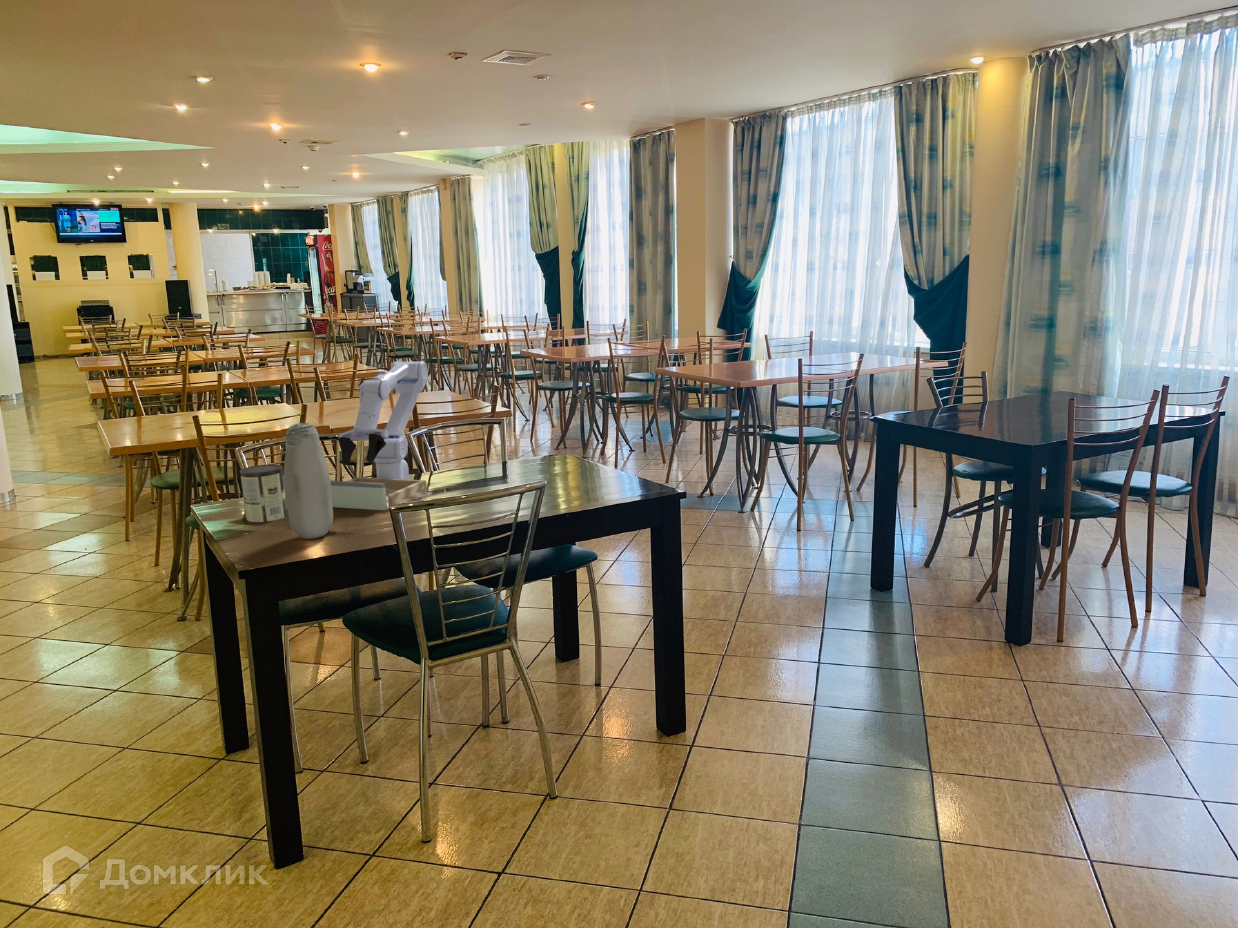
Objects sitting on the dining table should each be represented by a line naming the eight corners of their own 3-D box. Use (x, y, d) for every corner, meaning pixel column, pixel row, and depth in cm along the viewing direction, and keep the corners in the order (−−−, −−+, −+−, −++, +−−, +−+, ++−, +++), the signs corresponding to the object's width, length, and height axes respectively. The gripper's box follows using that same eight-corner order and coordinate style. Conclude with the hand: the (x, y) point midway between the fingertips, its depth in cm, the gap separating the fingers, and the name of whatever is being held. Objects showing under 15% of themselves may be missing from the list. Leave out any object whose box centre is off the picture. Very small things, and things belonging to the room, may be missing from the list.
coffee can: (263, 515, 238) (256, 463, 235) (296, 516, 235) (290, 464, 232) (237, 525, 228) (230, 472, 225) (271, 527, 225) (265, 473, 222)
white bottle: (297, 532, 220) (284, 420, 214) (339, 530, 220) (328, 419, 214) (285, 544, 210) (272, 427, 204) (329, 542, 211) (317, 425, 205)
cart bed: (359, 493, 258) (357, 477, 257) (427, 497, 250) (425, 480, 249) (322, 509, 242) (320, 491, 241) (393, 513, 235) (391, 495, 234)
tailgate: (326, 505, 241) (323, 480, 239) (387, 509, 235) (384, 483, 233) (323, 506, 240) (320, 481, 238) (384, 510, 234) (382, 484, 232)
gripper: (337, 414, 244) (325, 458, 238) (382, 409, 240) (372, 454, 234) (351, 426, 250) (340, 469, 244) (396, 422, 246) (386, 466, 240)
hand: (357, 463), depth 239 cm, fingers open, 7 cm apart
